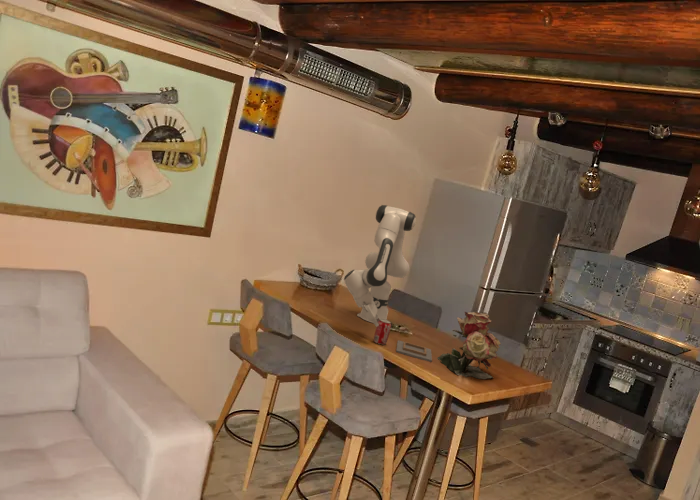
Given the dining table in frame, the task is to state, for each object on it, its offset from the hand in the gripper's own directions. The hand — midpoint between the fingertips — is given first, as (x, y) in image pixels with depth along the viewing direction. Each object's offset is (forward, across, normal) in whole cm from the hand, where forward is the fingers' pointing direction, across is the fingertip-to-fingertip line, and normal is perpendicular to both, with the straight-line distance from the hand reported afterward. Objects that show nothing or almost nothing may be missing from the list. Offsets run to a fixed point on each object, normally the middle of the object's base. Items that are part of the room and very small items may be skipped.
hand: (378, 323), depth 315 cm
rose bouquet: (+41, -3, -28) cm, 50 cm away
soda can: (+9, 0, +5) cm, 10 cm away
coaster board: (+22, +2, -8) cm, 23 cm away
